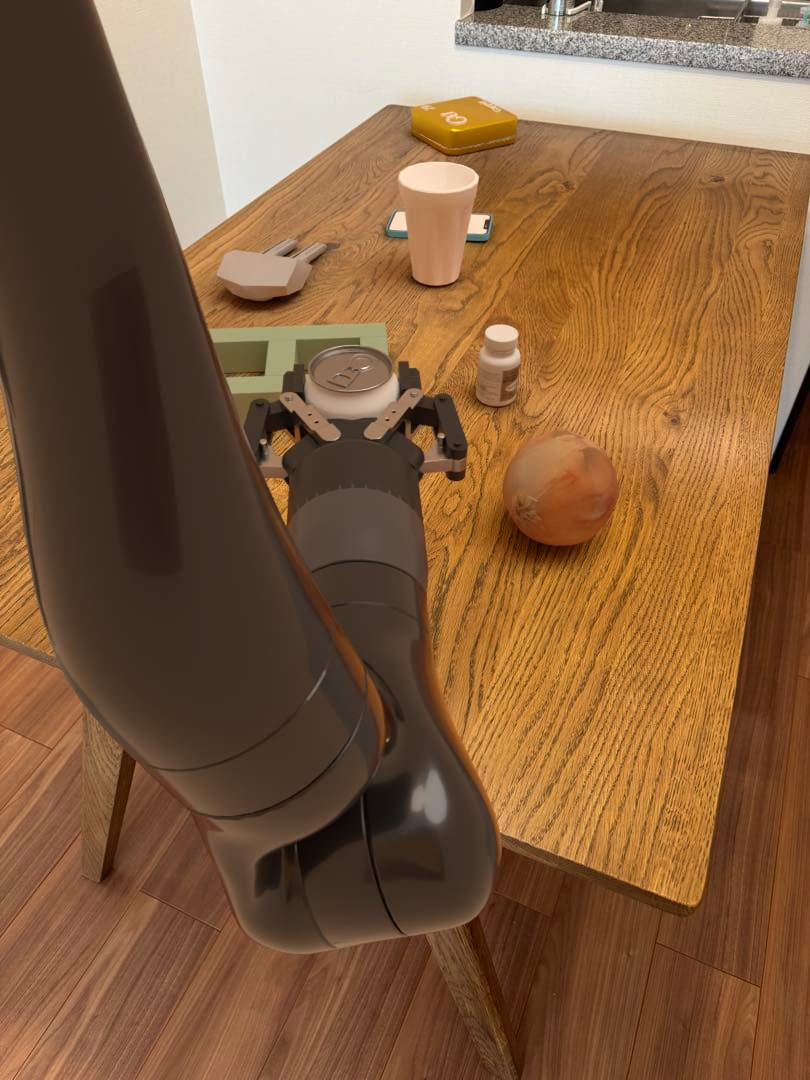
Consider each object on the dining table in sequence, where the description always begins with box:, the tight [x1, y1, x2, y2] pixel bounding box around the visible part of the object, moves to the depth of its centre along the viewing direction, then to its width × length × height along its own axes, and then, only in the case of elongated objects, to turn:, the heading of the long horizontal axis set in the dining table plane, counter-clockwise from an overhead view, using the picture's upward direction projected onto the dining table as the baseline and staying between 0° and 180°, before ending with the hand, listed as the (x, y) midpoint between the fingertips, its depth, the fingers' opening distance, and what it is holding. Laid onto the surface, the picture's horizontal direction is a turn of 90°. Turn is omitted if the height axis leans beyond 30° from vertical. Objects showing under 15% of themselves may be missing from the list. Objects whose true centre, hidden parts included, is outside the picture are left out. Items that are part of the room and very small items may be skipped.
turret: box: [215, 238, 327, 302], centre depth 103 cm, size 10×20×5 cm, turn 162°
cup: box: [397, 161, 480, 286], centre depth 100 cm, size 10×10×13 cm
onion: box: [502, 428, 619, 547], centre depth 67 cm, size 10×10×10 cm
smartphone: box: [385, 209, 494, 242], centre depth 115 cm, size 8×1×15 cm
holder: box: [208, 322, 390, 426], centre depth 85 cm, size 13×23×4 cm, turn 94°
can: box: [304, 345, 400, 420], centre depth 55 cm, size 6×6×12 cm
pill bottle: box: [475, 323, 522, 407], centre depth 82 cm, size 4×4×8 cm
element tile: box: [410, 95, 519, 157], centre depth 141 cm, size 15×15×5 cm
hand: (351, 373), depth 54 cm, fingers closed on can, 6 cm apart
